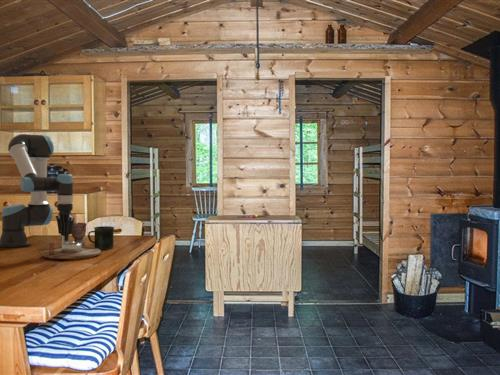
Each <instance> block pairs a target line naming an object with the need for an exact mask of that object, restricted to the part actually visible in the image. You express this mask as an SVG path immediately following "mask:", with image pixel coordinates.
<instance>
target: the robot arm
mask: <svg viewBox="0 0 500 375" xmlns="http://www.w3.org/2000/svg"><path fill="white" fill-rule="evenodd" d="M7 150H8V153H9V155H10V157H12V158H13V160H14V162H15V165H16V167H17V170H18V171H19V174H20V177H21V179H20V181H19V182H20V183H19V187H20V190H21V191H22V192H28V193H30V201H29V202H28V203H27V206H26V205H25V204H23V203H21V204H12V205H8V206H4V207H3V208H2V209H1V210H2V211H1V235H0V247H1V248H16V247H18V248H19V247H24V246H28V244H29V239H28V238H27V234H26V232H25V228H26V227H34V226H36V227H37V226H38V227H39V226H40V227H42V226H48V225H50V223H51V222H52V220H53V215H54V211H53V207H52V206H51V205H50V203H49V202H48V201H47V195H48V194H47V193H48V192H57V193H56V194H57V198H56V199H57V205H56V206H57V212H58V215H55V219H56V223H57V230H58V234H60V236H61V244H63V243H68V242H69V235H72V234H71V232H72V226H73V221H74V219H75V216H73V217H72V216H71V214H72V211H73V209H74V208H73V205H74V201H73V200H74V196H73V195H74V193H73V190H74V188H73V186H74V185H73V184H74V180H73V179H74V178H73V177H74V176H73V174H72V173H70V174H69V173H61V174H60V173H59V174H57V176H54V177H52V176H51V177H49V176H48V161H49V160H50V159H51V158H50V157H51V156H52V155H53V154H54V150H55V149H54V142H53V140H52V137H50V136H49V135H43V134H40V135H39V134H26V133H24V134H23V133H19V134H18V135H15V136H14V137H12V138H11V139H10V141H9V143H8V146H7ZM47 176H48V177H47Z"/></svg>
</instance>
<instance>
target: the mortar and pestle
mask: <svg viewBox="0 0 500 375" xmlns="http://www.w3.org/2000/svg"><path fill="white" fill-rule="evenodd" d="M71 216H72V217H74V216H73V214H72V213H71ZM86 234H87V223H86V222H77V221H76V220H75V218H74V221H73V226H72V232H71V234H70V235H71V237H72V238H73V239H74V241H73V242H78V243H82V247H85V245H86V242H85V241H84V240H83V238H84V237H85V236H86Z"/></svg>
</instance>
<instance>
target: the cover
mask: <svg viewBox="0 0 500 375" xmlns="http://www.w3.org/2000/svg"><path fill="white" fill-rule="evenodd" d="M60 246H61V247H60V248H61V252H62V253H78V252H82V247H83V246H82V243H78V242H74V241H68V243H63V244H62V243H61V245H60Z"/></svg>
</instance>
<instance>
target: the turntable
mask: <svg viewBox="0 0 500 375" xmlns="http://www.w3.org/2000/svg"><path fill="white" fill-rule="evenodd" d="M101 250H102V249H97V248H95V247H89V246H82V252H78V253H62V252H61V247H59V248H55V242H49V243H48V250H45V251H44V252H43V253H42V256H43V257H44V258H46V259H47V258H48V259H54V260H73V259H74V260H76V259H78V260H79V259H85V258H92V257H95V256H99V255H101V253H102V251H101Z"/></svg>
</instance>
